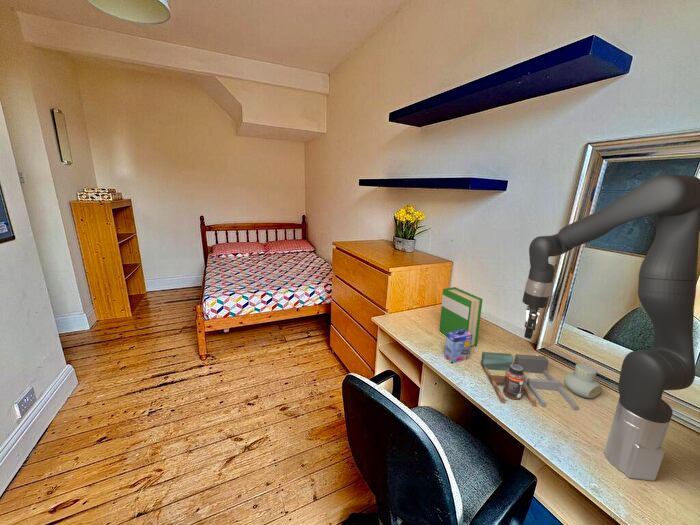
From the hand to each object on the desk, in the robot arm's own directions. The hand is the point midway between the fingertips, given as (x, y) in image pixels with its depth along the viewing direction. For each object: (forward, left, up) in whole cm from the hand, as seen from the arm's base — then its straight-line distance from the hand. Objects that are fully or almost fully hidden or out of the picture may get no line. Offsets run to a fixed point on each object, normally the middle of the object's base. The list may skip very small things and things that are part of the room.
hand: (527, 332), depth 104 cm
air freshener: (-3, -20, -21) cm, 29 cm away
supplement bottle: (-8, +6, -21) cm, 23 cm away
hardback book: (+30, +16, -21) cm, 40 cm away
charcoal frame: (-2, -7, -20) cm, 22 cm away
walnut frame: (-2, +6, -20) cm, 21 cm away
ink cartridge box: (+13, +20, -21) cm, 32 cm away
